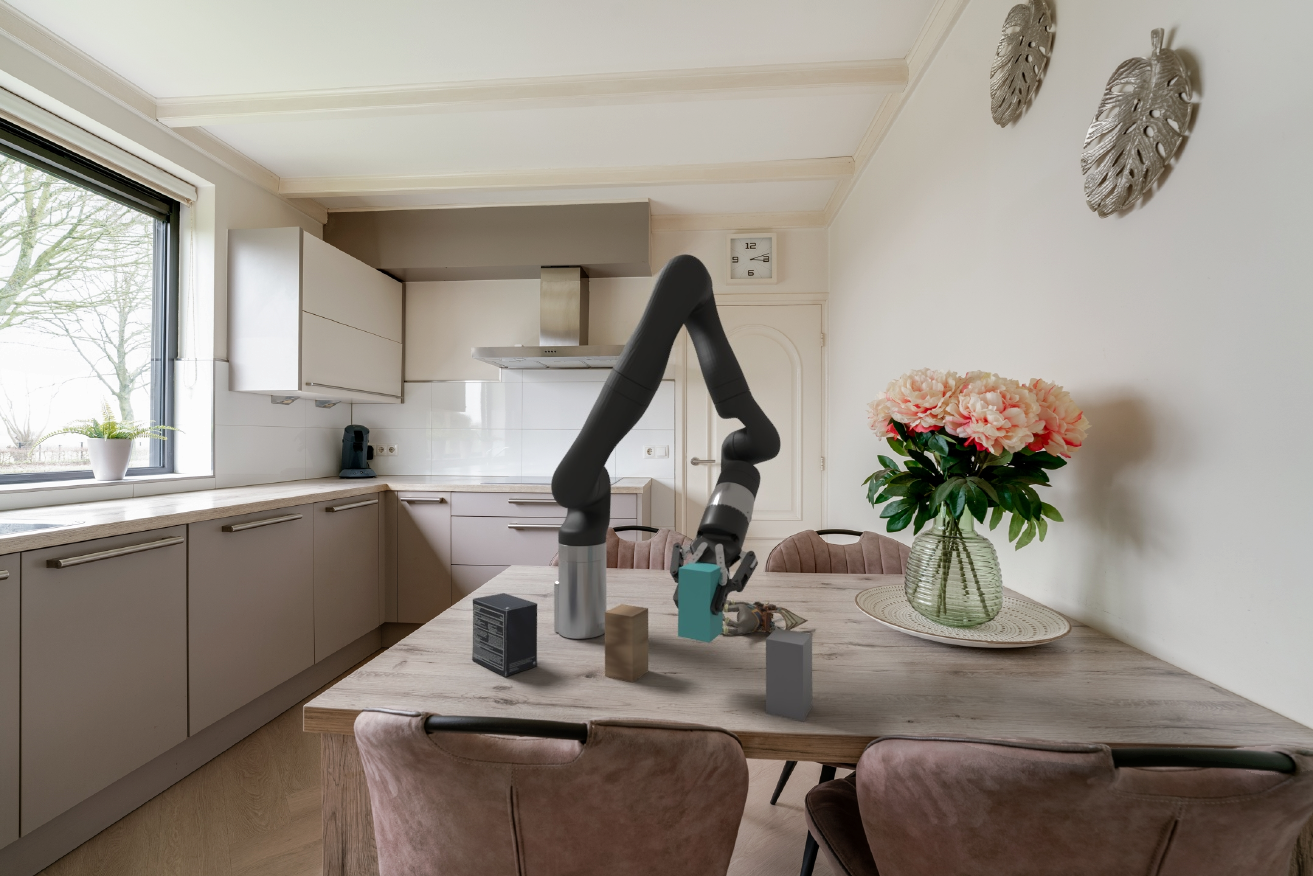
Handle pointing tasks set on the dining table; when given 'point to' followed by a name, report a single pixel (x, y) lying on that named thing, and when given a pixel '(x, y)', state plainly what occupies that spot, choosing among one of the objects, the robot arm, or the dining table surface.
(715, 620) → the teal block
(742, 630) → the figurine
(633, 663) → the walnut block
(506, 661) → the small box
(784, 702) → the charcoal block
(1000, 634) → the dining table surface
